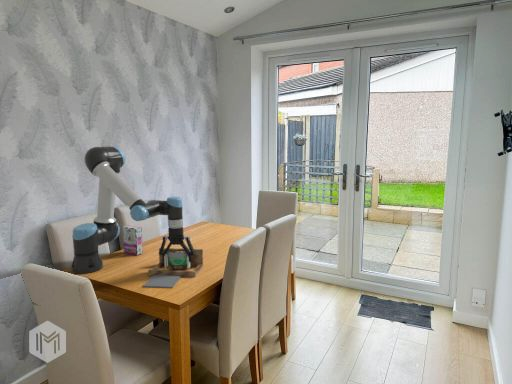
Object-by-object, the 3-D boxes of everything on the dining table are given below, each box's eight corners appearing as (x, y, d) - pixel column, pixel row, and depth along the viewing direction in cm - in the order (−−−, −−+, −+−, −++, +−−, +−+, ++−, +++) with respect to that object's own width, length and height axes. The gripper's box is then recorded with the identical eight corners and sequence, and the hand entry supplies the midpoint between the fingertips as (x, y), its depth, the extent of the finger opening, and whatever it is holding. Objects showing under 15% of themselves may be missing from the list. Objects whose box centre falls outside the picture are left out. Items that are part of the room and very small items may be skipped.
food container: (168, 273, 183) (167, 254, 181) (167, 269, 189) (166, 250, 187) (192, 270, 186) (191, 252, 185) (190, 266, 192) (190, 248, 191)
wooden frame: (148, 275, 180) (147, 258, 178) (160, 263, 197) (159, 248, 196) (195, 276, 178) (194, 259, 176) (203, 265, 195) (202, 249, 194)
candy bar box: (143, 253, 216) (142, 227, 213) (137, 255, 211) (135, 228, 209) (130, 250, 221) (128, 225, 218) (123, 253, 216) (122, 226, 214)
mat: (142, 287, 165) (142, 285, 165) (153, 275, 179) (153, 274, 179) (172, 287, 164) (172, 286, 164) (181, 276, 178) (181, 275, 178)
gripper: (150, 228, 181) (152, 269, 184) (196, 228, 179) (198, 270, 182) (156, 225, 189) (158, 264, 192) (200, 225, 187) (201, 265, 190)
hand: (177, 267), depth 187 cm, fingers closed on food container, 11 cm apart
